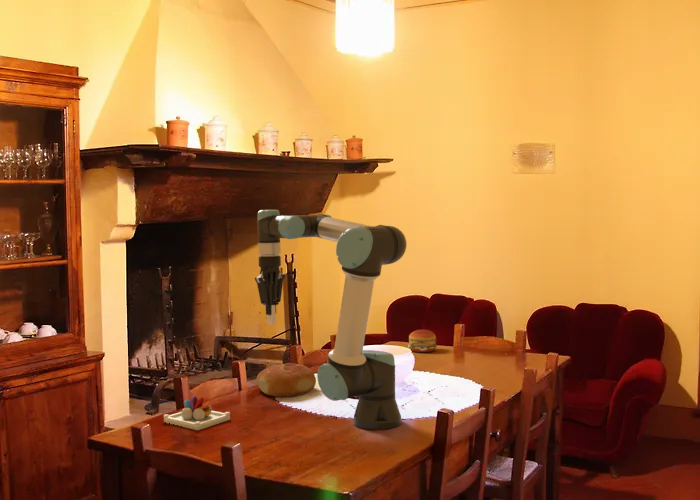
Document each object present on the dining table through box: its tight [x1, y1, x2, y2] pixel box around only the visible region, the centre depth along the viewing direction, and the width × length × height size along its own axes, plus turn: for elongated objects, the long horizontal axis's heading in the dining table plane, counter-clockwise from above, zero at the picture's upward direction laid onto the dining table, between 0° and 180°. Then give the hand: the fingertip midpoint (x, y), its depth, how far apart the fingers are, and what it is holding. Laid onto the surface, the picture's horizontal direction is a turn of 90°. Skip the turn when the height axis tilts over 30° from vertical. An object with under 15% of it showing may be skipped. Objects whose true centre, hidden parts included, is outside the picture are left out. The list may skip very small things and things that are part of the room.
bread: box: [256, 362, 317, 398], centre depth 292 cm, size 23×23×10 cm
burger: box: [407, 329, 438, 353], centre depth 363 cm, size 13×14×10 cm
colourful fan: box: [180, 395, 213, 421], centre depth 254 cm, size 8×10×7 cm
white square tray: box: [163, 410, 231, 431], centre depth 254 cm, size 17×15×2 cm
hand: (271, 323), depth 266 cm, fingers closed
